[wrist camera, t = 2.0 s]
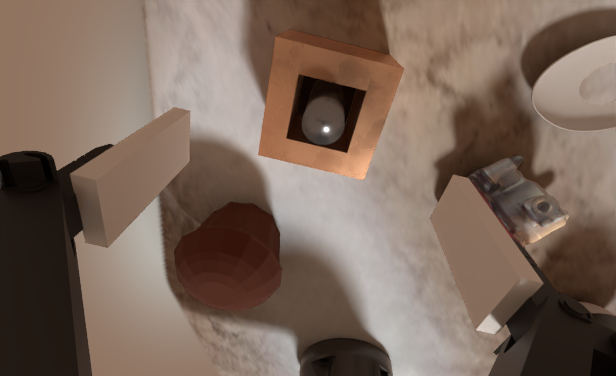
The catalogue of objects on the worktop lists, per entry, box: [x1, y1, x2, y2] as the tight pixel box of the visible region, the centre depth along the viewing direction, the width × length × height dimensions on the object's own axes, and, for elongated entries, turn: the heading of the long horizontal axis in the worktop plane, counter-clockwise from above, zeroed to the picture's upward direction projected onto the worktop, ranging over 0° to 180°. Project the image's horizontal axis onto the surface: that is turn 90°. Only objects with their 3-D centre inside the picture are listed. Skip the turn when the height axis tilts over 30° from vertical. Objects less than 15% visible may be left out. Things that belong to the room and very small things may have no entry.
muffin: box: [174, 202, 282, 311], centre depth 35 cm, size 12×11×10 cm
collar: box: [258, 30, 404, 180], centre depth 26 cm, size 9×9×7 cm
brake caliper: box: [467, 156, 569, 262], centre depth 30 cm, size 11×11×12 cm
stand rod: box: [302, 79, 345, 145], centre depth 25 cm, size 3×3×9 cm
